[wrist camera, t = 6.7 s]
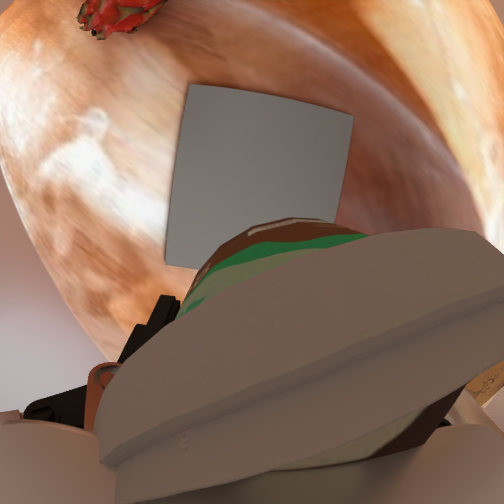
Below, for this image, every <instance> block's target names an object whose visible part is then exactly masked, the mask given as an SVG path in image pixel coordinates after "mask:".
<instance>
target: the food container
mask: <svg viewBox="0 0 504 504" xmlns="http://www.w3.org/2000/svg"><path fill="white" fill-rule="evenodd" d="M503 360H504V254H502V253H501V252H500V251H499V250H498V249H497V248H495V247H494V246H493V245H492V244H491V243H489V242H488V241H487V240H486V239H484V238H483V237H482V236H481V235H479V234H478V233H477V232H475V231H467V230H459V229H450V228H441V227H433V228H424V229H415V230H406V231H397V232H388V233H379V234H376V235H372V236H368V235H366V234H363V233H360V232H357V231H354V230H351V229H348V228H345V227H342V226H339V225H336V224H333V223H330V222H327V221H324V220H321V219H316V218H298V217H289V218H284V219H280V220H276V221H272V222H267V223H263V224H259V225H255V226H252V227H250V228H249V229H247V230H245V231H244V232H242V233H240V234H239V235H237V236H235V237H233V238H232V239H230V240H229V241H227V242H225V243H224V244H222V245H220V246H219V248H218V249H217V250H216V251H215V252H214V253H213V255H212V256H211V257H210V258H209V259H208V260H207V262H206V263H205V264H204V265H203V266H202V267H201V269H200V270H199V271H198V272H197V274H196V277H195V279H194V281H193V283H192V285H191V287H190V289H189V291H188V293H187V295H186V297H185V299H184V301H183V303H182V305H181V308H180V310H179V312H178V314H177V316H176V318H175V320H174V321H173V322H171V323H169V324H168V325H166V326H165V327H163V328H162V329H161V330H160V331H159V332H158V333H157V334H155V335H154V336H153V337H152V338H151V339H150V340H149V341H147V342H146V343H145V344H144V345H143V346H142V347H140V348H139V349H138V350H137V351H136V352H135V353H134V354H132V355H131V356H130V357H129V358H128V359H127V360H125V362H124V363H123V364H122V366H121V367H120V369H119V370H118V371H117V373H116V374H115V376H114V377H113V378H112V380H111V381H110V383H109V384H108V386H107V387H106V388H105V390H104V391H103V394H102V397H101V400H100V403H99V406H98V409H97V413H96V416H95V421H94V431H93V432H96V433H97V435H98V437H99V439H100V447H99V462H100V463H104V464H108V465H113V466H118V469H117V478H116V488H115V500H114V504H134V503H136V502H142V501H147V500H152V499H157V498H162V497H166V496H171V495H175V494H179V493H183V492H186V491H191V490H197V489H202V488H207V487H212V486H217V485H221V484H225V483H229V482H233V481H237V480H241V479H244V478H248V477H251V476H255V475H258V474H261V473H264V472H274V471H292V470H305V469H314V468H323V467H330V466H337V465H344V464H350V463H355V462H360V461H365V460H370V459H374V458H379V457H383V456H387V455H391V454H395V453H398V452H402V451H405V450H409V449H412V448H415V447H419V446H421V445H423V444H425V443H426V441H427V440H428V439H429V437H430V436H431V435H432V434H433V432H434V431H435V430H436V428H437V427H438V426H439V424H440V423H441V422H442V420H443V419H444V418H445V416H446V415H447V413H448V412H449V411H450V409H451V408H452V406H453V405H454V403H455V402H456V400H457V399H458V397H459V396H460V394H461V392H462V391H463V389H464V388H465V386H466V384H467V383H468V382H469V381H471V380H472V379H474V378H475V377H477V376H478V375H480V374H481V373H483V372H485V371H486V370H488V369H490V368H492V367H493V366H495V365H497V364H498V363H500V362H501V361H503Z"/></svg>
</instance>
